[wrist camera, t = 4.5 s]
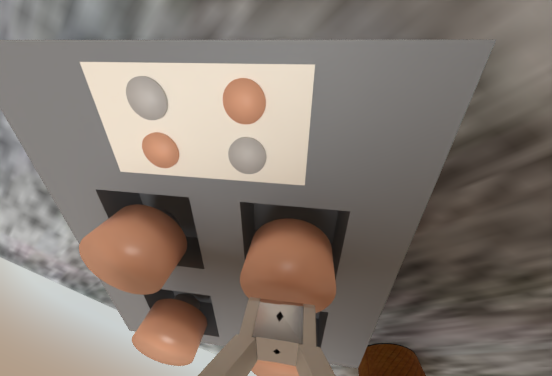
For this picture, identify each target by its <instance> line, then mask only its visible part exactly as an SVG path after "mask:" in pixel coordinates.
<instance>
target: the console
mask: <svg viewBox="0 0 552 376" xmlns="http://www.w3.org/2000/svg"><path fill="white" fill-rule="evenodd" d="M495 41H496V40H0V109H1V110H2V112H3V114H4V116H5V117H6V119H7V121H8V122H9V124H10V126H11V128H12V129H13V131H14V133H15V134H16V136H17V138H18V140H19V141H20V143H21V145H22V146H23V148H24V150H25V152H26V153H27V155H28V157H29V158H30V160H31V162H32V164H33V165H34V167H35V169H36V171H37V172H38V174H39V176H40V177H41V179H42V181H43V183H44V184H45V186H46V188H47V189H48V191H49V193H50V195H51V196H52V198H53V200H54V201H55V203H56V205H57V207H58V208H59V210H60V212H61V214H62V215H63V217H64V219H65V220H66V222H67V224H68V226H69V227H70V229H71V231H72V232H73V234H74V236H75V238H76V239H77V241H78V243H79V244H80V242H81V240H82V239H83V238H84V237H85V236H86V235H88V234H89V233H90V232H91V231H93V230H94V229H95V228H97V227H98V226H99V225H101V224H102V223H103V222H105V221H106V220H107V219H109V218H110V217H111V216H113V215H114V214H115V213H116V212H118V211H119V210H120V209H122V208H123V207H126V206H128V205H134V204H139V205H146V206H150V207H153V208H156V209H163V210H166V211H168V212H169V213H171V214H172V215H173V216H174V217H175V218H176V219H177V220H178V222H179V226H180V227H181V229H182V230H183V232H184V234H185V236H186V240H187V250H186V252H185V254H184V255H183V257H182V258H181V260H180V261H179V263H178V264H177V266H176V267H175V269H174V270H173V272H172V273H171V275H170V276H169V278H168V279H167V281H166V282H165V284H164V285H163V287H162V288H161V289H160V290H159V291H157V292H155V293H153V294H147V295H139V294H132V293H128V292H125V291H122V290H119V289H117V288H115V287H113V286H111V285H109V284H107V283H106V282H104V281H102V280H101V279H100V278H99V279H100V281H101V282H102V284H103V286H104V287H105V289H106V291H107V293H108V294H109V296H110V298H111V299H112V301H113V303H114V305H115V306H116V308H117V310H118V312H119V313H120V315H121V317H122V318H123V320H124V322H125V324H126V325H127V326H128V329H129V330H130V331H137V329H138V328H139V326H140V325H141V323H142V322H143V320H144V318H145V317H146V315H147V314H148V312H149V311H150V309H151V308H152V306H153V305H154V303H155V302H156V301H158V300H161V299H174V298H175V296H176V295H178V294H188V295H191V296H193V297H195V298H196V299H197V300H198V301H199V302H200V308H199V310H200V311H201V312H202V313H203V314H204V316H205V317H206V319H207V327H206V329H205V332H204V334H203V337H202V339H201V342H202V343H208V344H214V345H220V346H226V345H227V343H228V342H229V341H230V340H231V339H232V338H233V337H234V336H235V335H236V334H237V335H239V333H240V329H241V326H242V322H243V318H244V314H245V310H246V307H247V303H248V300H249V298H248V297H247V296H246V295H245V293H244V292H243V290H242V288H241V284H240V274H241V271H242V268H243V265H244V262H245V259H246V256H247V253H248V250H249V247H250V244H251V241H252V238H253V236H254V234H255V233H256V231H257V230H258V229H259V228H260V227H261V226H263V225H264V224H266V223H268V222H270V221H273V220H277V219H286V218H288V219H298V220H302V221H305V222H308V223H310V224H312V225H314V226H316V227H317V228H319V229H320V230H321V231H322V232H323V233H324V234H325V235H326V236H327V238H328V239H329V241H330V243H331V247H332V255H333V264H334V272H335V281H336V295H335V298H334V300H333V301H332V303H331V304H330V305H329V306H328V307H327V308H325V309H324V310H322V311H320V312H318V313H316V347H320V348H321V350H322V352H323V354H324V356H325V357H326V359H327V361H328V363H329V364H335V365H341V366H347V367H353V368H358V367H359V365H360V362H361V360H362V358H363V355H364V353H365V351H366V348H367V346H368V343H369V341H370V339H371V336H372V334H373V332H374V329H375V327H376V324H377V322H378V320H379V317H380V315H381V313H382V310H383V308H384V305H385V303H386V301H387V298H388V296H389V294H390V291H391V289H392V286H393V284H394V282H395V279H396V277H397V275H398V272H399V270H400V267H401V265H402V263H403V260H404V258H405V255H406V253H407V251H408V248H409V246H410V244H411V241H412V239H413V236H414V234H415V232H416V229H417V227H418V225H419V222H420V220H421V217H422V215H423V213H424V210H425V208H426V206H427V203H428V201H429V198H430V196H431V194H432V191H433V189H434V187H435V184H436V182H437V179H438V177H439V175H440V172H441V170H442V168H443V165H444V163H445V160H446V158H447V156H448V153H449V151H450V148H451V146H452V144H453V141H454V139H455V137H456V134H457V132H458V129H459V127H460V125H461V122H462V120H463V118H464V115H465V113H466V110H467V108H468V106H469V103H470V101H471V99H472V96H473V94H474V91H475V89H476V87H477V84H478V82H479V80H480V77H481V75H482V72H483V70H484V68H485V65H486V63H487V61H488V58H489V56H490V53H491V51H492V49H493V46H494V44H495Z"/></svg>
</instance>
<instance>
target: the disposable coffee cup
mask: <svg viewBox="0 0 552 376" xmlns="http://www.w3.org/2000/svg"><path fill="white" fill-rule="evenodd" d="M358 368H359V376H426V375H425V373H424V371H423V369H422V367H421V365H420V363H419V361H418V359H417V356H416V355H415V353H413V352H412V351H411V350H409V349H407V348H405V347H402V346H398V345H392V344H378V345H372V346H369V347H367V348H366V351H365V353H364V355H363V358H362V360H361V362H360V365H359V367H358Z"/></svg>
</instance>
